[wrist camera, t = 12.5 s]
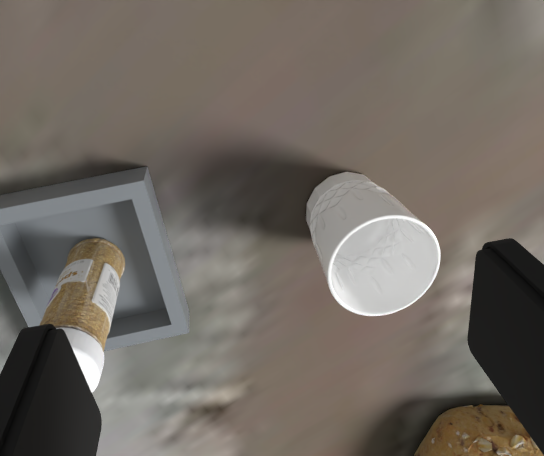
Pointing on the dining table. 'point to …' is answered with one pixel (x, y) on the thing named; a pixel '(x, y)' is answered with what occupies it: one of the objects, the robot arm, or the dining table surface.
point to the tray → (87, 225)
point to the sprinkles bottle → (87, 302)
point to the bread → (478, 433)
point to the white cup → (370, 245)
